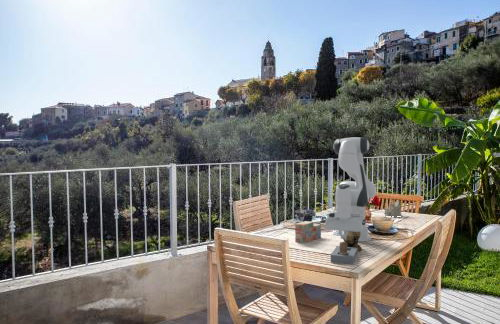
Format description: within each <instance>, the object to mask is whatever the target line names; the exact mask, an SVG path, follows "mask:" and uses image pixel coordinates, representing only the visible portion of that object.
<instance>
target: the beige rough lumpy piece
mask: <svg viewBox="0 0 500 324" xmlns="http://www.w3.org/2000/svg"><path fill="white" fill-rule="evenodd" d="M360 234H361V233H360V232H353V231H349V232H348V234H347V236H346V239H342V240H343V242H347V247H354V248H358V253H360V252H361V251H362V249H363V248H362V246H361V245H360V244H359V242H358V239H359V238H360ZM342 235H346V233H345V231H343V233H342Z"/></svg>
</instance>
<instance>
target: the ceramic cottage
mask: <svg viewBox="0 0 500 324" xmlns="http://www.w3.org/2000/svg"><path fill="white" fill-rule="evenodd" d="M394 202H395V203H392V204H391V203H390V204H389V205H390V206H388V208H385V210H384V215H385V216H391V217H392V216H394V217H397V216H403V215H402V210H401V209H402V205H400V204H401V203H400V200H399V199H398V200H397V201H394Z"/></svg>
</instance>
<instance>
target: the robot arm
mask: <svg viewBox="0 0 500 324" xmlns="http://www.w3.org/2000/svg"><path fill="white" fill-rule="evenodd" d="M369 150H370V141H369V139H368V138H367V137H364V136H363V137H362V136H361V137H358V136H357V137H356V136H355V137H354V136H353V137H351V136H350V137H344V138H337V139H335V140H334V143H333V151H334V153H335V154H336V155H338V160H337V162H338V163H337V164H338V166H339V167H340V169H341V170H343V171H344V172H346V173H347V175H348V176H349V177H350V178H352V179H353V180H354V181H353V180H352V181H351V180H347V181H346V180H344V181H341V182H340V183H339V184H338V185H336V188H335V192H334V198H333V199H334V202H335V208H334V209H335V210H331V211H328V212H327V213H326V216H327V217H326V219H325V223H324V228H325V230H326V231H338V233H339V235H340V239H341V240H343V239H346V236H347V234H348V232H349V231H353V232H360V233H361V234H360V238H359V239H358V243H359V242H370V241H372V238H371V236H370V234H369V228H368V226H367V220H366V206H367V205H368V204H369V202H370V199H373V198H374V197H375V196H376V194H377V192H378V191H377V187H376V185H375V184H374V183H373V182H372V181H371V180H370V179H369V178H368V176H367V175H366V173H365V165H364V154H367V153H368V152H369ZM344 231H345V233H346V235H343V233H342V232H344Z"/></svg>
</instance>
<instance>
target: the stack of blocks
mask: <svg viewBox="0 0 500 324" xmlns="http://www.w3.org/2000/svg"><path fill="white" fill-rule="evenodd" d="M321 227H322V224H320V223H315V222H314V221H310V220H309V221H308V220H305V221H301V222H297V223H295V225H294V230H295V234H294V236H295V237H294V238H295V241H294V242H295V243H300V244H306V243H309V242H311V241H314V240H318V239H321V237H322V228H321Z"/></svg>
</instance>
